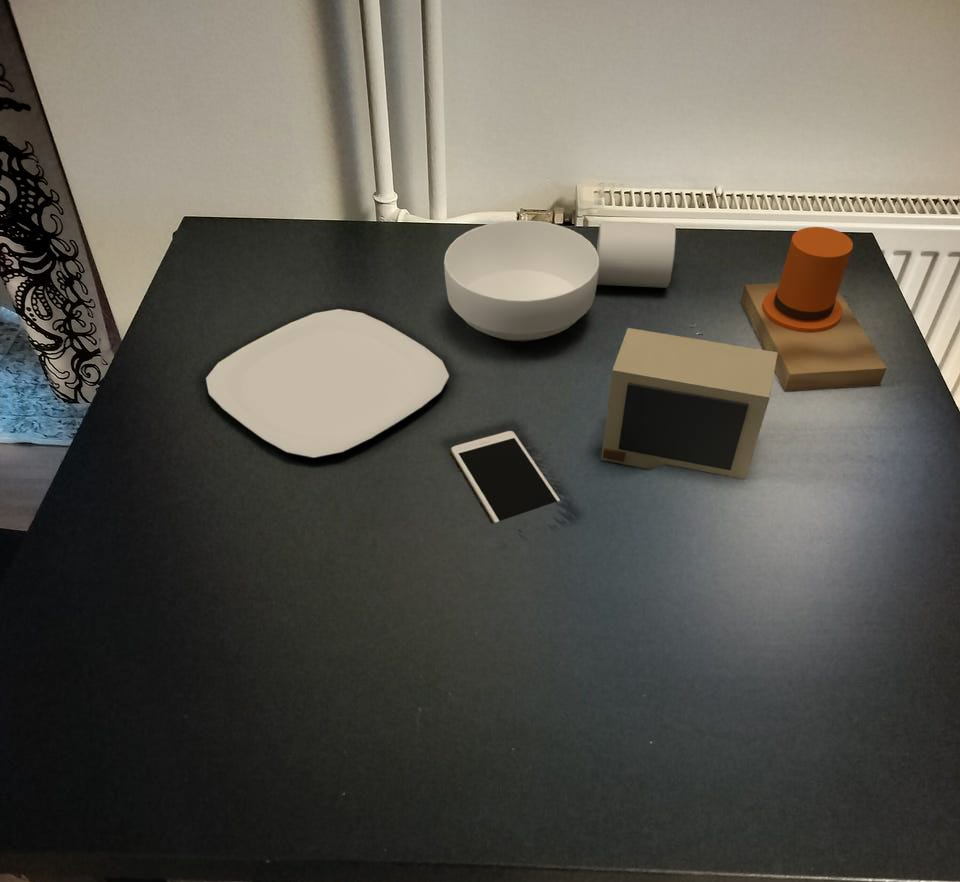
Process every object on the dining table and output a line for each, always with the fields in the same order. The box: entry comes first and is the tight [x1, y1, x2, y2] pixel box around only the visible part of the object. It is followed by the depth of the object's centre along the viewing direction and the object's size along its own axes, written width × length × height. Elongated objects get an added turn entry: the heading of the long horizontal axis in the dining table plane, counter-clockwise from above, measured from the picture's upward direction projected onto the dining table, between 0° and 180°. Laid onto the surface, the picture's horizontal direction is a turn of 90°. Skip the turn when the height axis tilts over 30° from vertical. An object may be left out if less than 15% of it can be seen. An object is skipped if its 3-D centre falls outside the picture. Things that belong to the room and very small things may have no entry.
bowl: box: [443, 219, 599, 342], centre depth 115 cm, size 20×20×8 cm
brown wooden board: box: [740, 282, 888, 392], centre depth 114 cm, size 20×12×2 cm, turn 5°
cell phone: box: [450, 430, 561, 524], centre depth 98 cm, size 8×16×1 cm, turn 22°
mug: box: [596, 220, 677, 289], centre depth 122 cm, size 12×10×8 cm
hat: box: [762, 226, 854, 332], centre depth 111 cm, size 10×10×9 cm
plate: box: [205, 308, 450, 460], centre depth 109 cm, size 25×25×2 cm
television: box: [600, 327, 778, 480], centre depth 97 cm, size 16×8×12 cm, turn 73°
